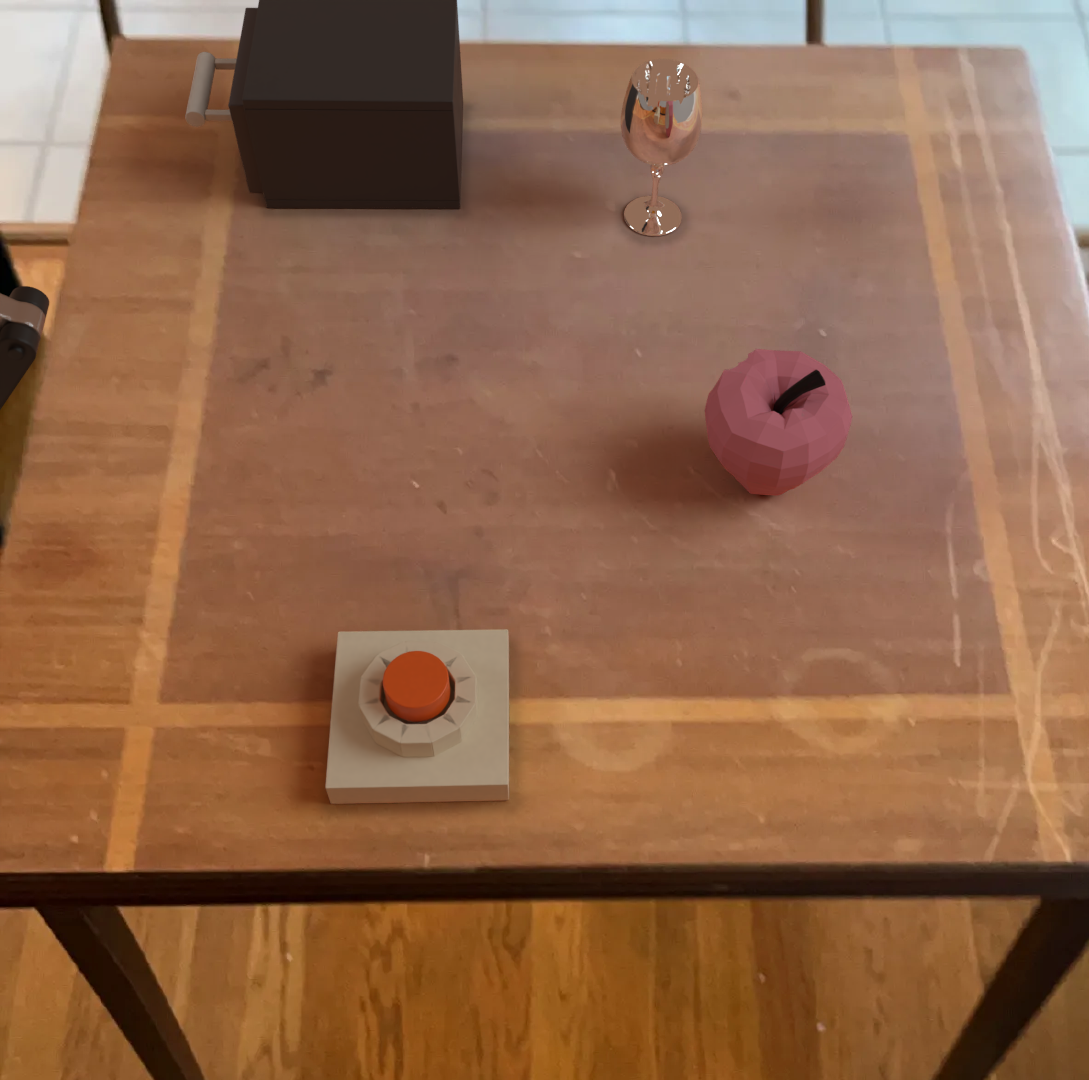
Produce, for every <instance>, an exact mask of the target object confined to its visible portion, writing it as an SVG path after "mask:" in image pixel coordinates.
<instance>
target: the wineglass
mask: <svg viewBox="0 0 1089 1080" xmlns="http://www.w3.org/2000/svg"><path fill="white" fill-rule="evenodd" d="M702 126H703V101H702V92H701V86H700V81H699V77H698V74H697V73H696V71H695V70H694V69H693V68H692V67H690V66H689V65H687V64H686V63H683V62H681V61H679V60H676V59H675V60H674V59H671V58H655V59H650V60H647V61H644V62H642V63H640V64H639V65H638V66H636V67H635V68H634V70H633V71H632V73H631V77H630V79H629V82H628V84H627V88H626V91H625V94H624V98H623V103H622V107H621V113H620V130H621V137H622V140H623V143H624V145H625V147H626V148H627V150H628V152H630V154H631V155H632V156H633V157H634V158H636V159H637V160H639V161H640V162H641V163H645V164H647V165H650V166H649V168H650V174H651V179H652V181H651V182H652V186H651V187H652V189H651V195H650V194H649V195H642V196H638V197H636V198H634V199H632V200H631V201H630V202H628V204H627V205H626V206H625V208H624V210H623V218H624V219H623V220H624V221H625V223H626V225H627V226H628V227H629V228H630V229H631V230H632V231H634V232H636V233H638V234H640V235H643V236H648V237H661V236H666V235H669V234H671V233H673V232H674V231H676V230H677V229H678V228H679V227H680V226H681V223H682V221H683V219H682V218H683V215H682V211H681V209H680V207H679V206H678V205H677V204H676V203H675V202H674V201H672V199H668V198H667V197H663V196H661V195H659V185H660V181H661V178H662V176H663V174H664V171H665V166H666V167H667V166H670V165H675V164H677V163H679V162H682V161H683V160H684V159H686V158H687V157H688V156H689V155H690V154H691V153H692V152H693V151H694V150H695V148H696V146H697V144H698V142H699V140H700V136H701V132H702Z"/></svg>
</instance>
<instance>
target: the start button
mask: <svg viewBox="0 0 1089 1080" xmlns="http://www.w3.org/2000/svg"><path fill="white" fill-rule="evenodd" d="M383 688H384V692H385V697H386V701H387V704H388V706H389V708H390V709H391V711H392V712H393V713H394V714H395V715H397V716H398V717H400V718H402V719H404V720H407V721H412V722H421V721H426V720H429V719H431V718H434V717H435V716H437V715H438V714H439V713H441V712H442V711H443V710H444V708H445V707H446V705H447V704H448V701H449V698H450V683H449V675H448V671H447V668H446V666H445V664H444V663H443V662H442V661H441V660H440V659H439V658H438V657H437V656H435V655H433V654H431V653H428V652H424V651H411V652H406V653H404V654H401V655H399V656H398V657H396V658H395V659H394V660H392V661H391V662H390V664H389V665H388V666H387V668H386V670H385V672H384V675H383Z"/></svg>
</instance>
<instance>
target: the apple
mask: <svg viewBox="0 0 1089 1080" xmlns="http://www.w3.org/2000/svg"><path fill="white" fill-rule="evenodd" d="M704 418H705V425H706V432H707V433H706V434H707V440H708V446H709V448H710V449H711V451H712V452H713V453H714V456H715V458H717V460H718V462H719V463H720V464H721V466H722V467H723V468H724V469H725V470H726V472H727V473H729V474H730V475H731V476H733V477H734V479H735V480H736V481H737V482H738V483H739V484H740V486H742V487H743V488H744V489H745V490H746V491H747V492H748V493H749V494H751V495H762V496H763V495H764V496H778V497H779V496H780V495H783V494H785V493H787V491H791V490H793V489H796V488H797V487H800V486H801V485H803V484H804V483H806V482H808V481H809V480H811V479H813V478H814V477H815V476H817V475H818V474H819V473H821V472H822V471H824V470H825V469H826V468H827V467H829V465H831V464H832V463H833V462H834V461H835V460H836V459H838V457H839V455H840V454H841V452H842V451H843V449H844V447H845V445H846V442H847V438H848V435H849V432H850V429H851V427H852V426H851V425H852V421H853V413H852V409H851V406H850V402H849V399H848V396H847V391H846V389H845V386H844V383H843V380H842V379H841V378H840V377H839V376H838V375H837V374H835V372H833V371H832V370H831V369H830V368H829V367H828V366H827V365H825V364H824V363H822V362H820V361H819V360H817V359H815V358H813V357H812V356H810V355H808V354H806V353H805V352H803V351H801V350H781V349H780V350H779V349H777V350H776V349H765V348H763V349H762V348H754V350H752V351H751V352H749V353H747V358H745V360H743V361H739V362H738V363H737V365H736V366H734V367H731V368H727V369H723V370H722V372H721V375H720V376H719V378H718V380H717V381H716V383H715V384H714V386H713V388H712V389H711V390H710V391H709V392H708V395H707V398H706V402H705V407H704Z"/></svg>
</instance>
